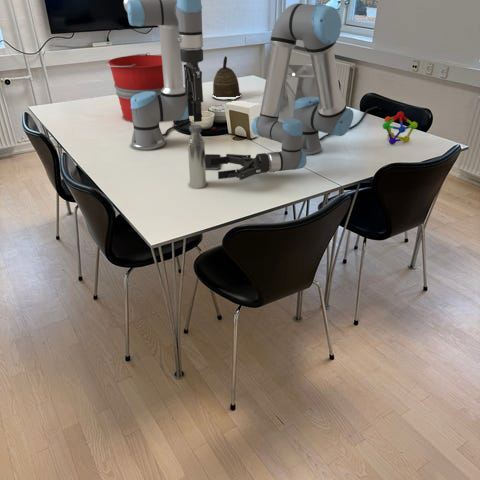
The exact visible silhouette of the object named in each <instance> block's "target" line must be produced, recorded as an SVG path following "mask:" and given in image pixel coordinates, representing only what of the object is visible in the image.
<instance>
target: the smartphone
mask: <svg viewBox="0 0 480 480" xmlns="http://www.w3.org/2000/svg"><path fill="white" fill-rule="evenodd" d="M216 157H221V154H215V153H213V154H212V153H211V154H209V153H208V154H207V153H205V167H206V170H218V169H219V168H220V164H219V165H210V158H216Z"/></svg>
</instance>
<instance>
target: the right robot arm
mask: <svg viewBox="0 0 480 480" xmlns="http://www.w3.org/2000/svg"><path fill="white" fill-rule="evenodd" d="M341 29H342V18H341V15H340V12H339V11H338V10H337V9H336V8H335V7H333V6H332V5H327V4H309V3H308V4H307V3H300V2H299V3H298V2H297V3H293V4H290V5H289V6H287V7H286V8H284V10H283V11H282V12H281V13H280V15H279V16H278V18H277V19H276V21H275V23H274V25H273V28H272V31H271V35H270V44H271V50H270V56H269V62H268V68H267V73H266V79H265V83H264V88H263V94H262V101H261V107H260V111H259V112H260V113H259V116H256V117H255V118H253V121H251V131H252V133H253V134H254V135H256V136H259V137H261V138H263V139H268V140H270V141H274V142H278V143H281V147H280V148H281V151H270V152H267V153H266V152H262V153H261V152H260V153H256V155H255V157H252V156H251V154H235V153H234V154H233V153H226V154H225V156H220V157H216V158H210V165H219V166H220V165H228V164H234V165H239V166H241V168H239V169H238V168H236V169H228V170H219V171H217V176H218V177H217V179H218V180H223V179H233V178H237V179H239V180H240V181H242V180H245V179H247V178H250V177H253V176H255V175H260V174H264V173H265V174H266V173H268V172H269V173H275V172H283V171H295V170H301V169H304V168H305V167H306V165H307V161H308V159H307V156H311V155H316V154H319V153H320V152H321V151H322V144H321V141H322V140H324V139H325V138H328V137H329V136H336V137H343V136H345V135H346V134H347V132H348V131H349V130H352V129H353V128H356V127H357V126H359V125H360V123H362V122H363V120H364V118H365V116H366V115H367V114H368V112H370V111H372V110H375V109H378V110H379V111H380V110H382V108H381V107H380V108H378V107H379V106H373V107H370V108H368V109H366V110H365V112H364V113H363V115H362V116H361V118H360V119H359V120H358V122H356V123H355V124H354V125H352V124H353V121H354V111H353V109H352V108H350V107H349V108H348V107H347V102H346V99H344V98H343V97H342V95H341V89H340V82H339V75H338V70H337V63H336V57H335V56H336V55H335V50H334V47H335V45H336V44H337V41H338V40H339V38H340V35H341V32H342V31H341ZM297 41H302V43H303V47H304V48H303V49H304V50H305V52H306V53H308V54H309V57H310V61H311V65H312V66H313V71H314V76H315V81H316V86H317V92H318V97H304V98H300V99H297V100H296V101H295V106H294V118H293V119H286V120H284V121H283V122H279V121H278V118H279V112H280V107H281V102H282V97H283V92H284V87H285V82H286V77H287V72H288V67H289V64H290V62H291V56H292V51H293V49H294V48H295V47H296V44H297ZM319 132H321V133H324V134H325V135H323V136H321V137H320V133H319Z"/></svg>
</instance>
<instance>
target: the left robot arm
mask: <svg viewBox="0 0 480 480" xmlns="http://www.w3.org/2000/svg"><path fill="white" fill-rule="evenodd" d="M122 3H123V7H124V10H125V11H126V13H127V19H128V23H129V25H130V26H132V27H153V26H157V27H158V29H159V30H158V31H159V39H160V41H159V42H160V54H161V55H160V56H162V67H163V79H164V87H163V88H162V90H161V95H157V94H156V92H153V91H147V92H141V93H138V94H135V95H134V96H132V98H131V109H132V117H133V122H132V125H133V132H132V135H131V142H130V143H131V147H132V148H134V149H135V150H141V151H151V150H153V151H154V150H157V149H161V148H163V147H164V146H165V144H166V140H165V136H167V135H168V134H169V132H170V131H171V130H174V129H175V128H177V127H180V126H183V125H185V124H188V123H189V121H187V120H189V119H190V117H193V118H194V120H193V122H194V123H199V122H200V123H201V122H203V116H202V114H203V113H202V112H203V111H202V103H203V102H204V93H203V92H204V91H203V72H202V70H201V69H200V67H199V63H202V62H203V61H204V49H203V47H204V34H203V14H202V13H203V10H202V9H203V5H202V0H123V1H122ZM183 63H185V64H183ZM183 72H184V73H183ZM174 121H175V122H176V121H179V122H180V121H183V122H184V123H182V122H181V123H182V124H180V123H178V124H179V125H178V124H176V125H177V126H175V125H173V126H171V127H169V128H167V129H166V131H165V133H163V132H162V130H161V127H160V123H162V122H174ZM185 121H187V122H185Z"/></svg>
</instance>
